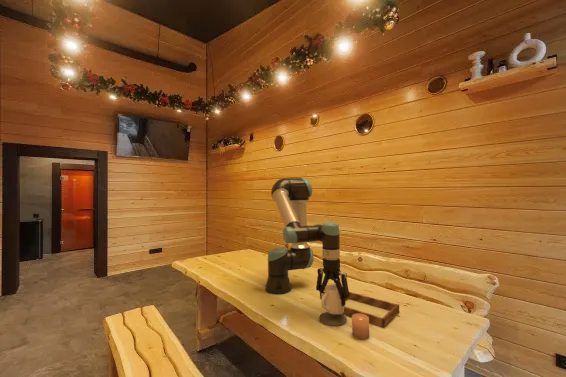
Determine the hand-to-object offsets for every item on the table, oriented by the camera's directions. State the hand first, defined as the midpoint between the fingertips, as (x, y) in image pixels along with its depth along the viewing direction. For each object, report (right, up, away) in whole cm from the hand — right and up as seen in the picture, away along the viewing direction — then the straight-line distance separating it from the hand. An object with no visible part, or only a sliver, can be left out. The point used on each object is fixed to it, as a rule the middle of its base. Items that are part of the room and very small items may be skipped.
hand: (332, 309), depth 115 cm
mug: (0, -1, 0) cm, 1 cm away
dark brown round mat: (0, -4, 0) cm, 4 cm away
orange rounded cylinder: (+8, -4, -13) cm, 16 cm away
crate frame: (+16, -4, +7) cm, 18 cm away
